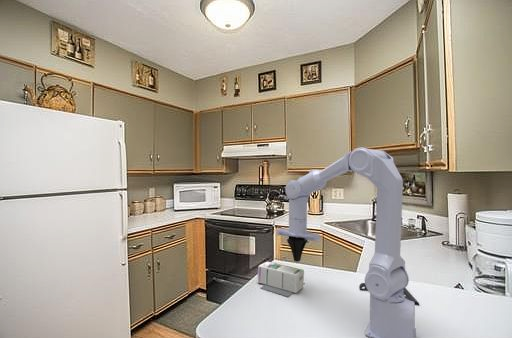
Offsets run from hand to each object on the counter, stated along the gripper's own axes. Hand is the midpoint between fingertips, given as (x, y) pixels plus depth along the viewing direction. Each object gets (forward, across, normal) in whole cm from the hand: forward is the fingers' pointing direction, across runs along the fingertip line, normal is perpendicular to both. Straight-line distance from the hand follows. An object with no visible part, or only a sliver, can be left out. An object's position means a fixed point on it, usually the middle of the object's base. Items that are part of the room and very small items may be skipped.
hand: (297, 260), depth 83 cm
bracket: (+10, +23, +16) cm, 30 cm away
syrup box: (+6, +2, 0) cm, 6 cm away
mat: (+9, -5, 0) cm, 11 cm away
